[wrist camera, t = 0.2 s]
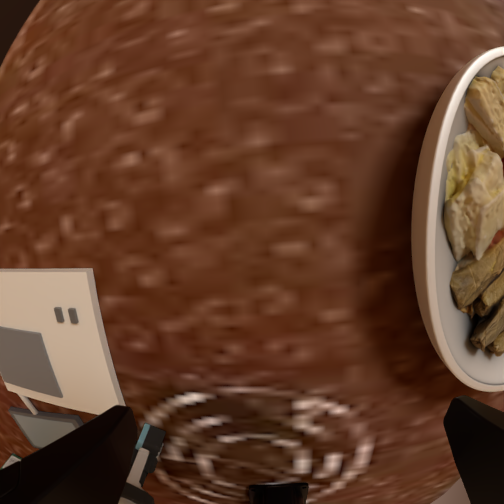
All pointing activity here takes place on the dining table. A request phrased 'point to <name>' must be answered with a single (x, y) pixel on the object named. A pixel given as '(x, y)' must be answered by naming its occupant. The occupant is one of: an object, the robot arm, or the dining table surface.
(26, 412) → the phone slab
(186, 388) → the dining table surface
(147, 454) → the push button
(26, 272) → the outlet plate
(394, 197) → the dining table surface
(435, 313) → the bowl
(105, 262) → the dining table surface
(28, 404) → the wooden dowel
